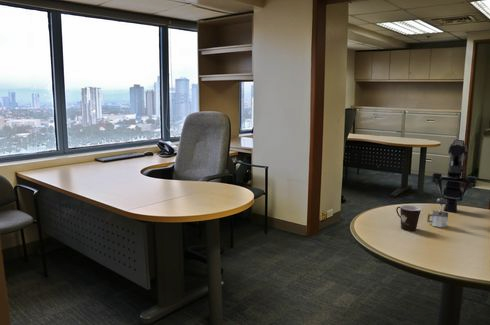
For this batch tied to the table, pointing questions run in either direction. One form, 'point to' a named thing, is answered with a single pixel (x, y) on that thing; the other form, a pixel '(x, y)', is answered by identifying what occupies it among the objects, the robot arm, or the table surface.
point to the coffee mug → (409, 217)
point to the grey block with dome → (438, 219)
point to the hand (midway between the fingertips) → (451, 195)
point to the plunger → (441, 201)
